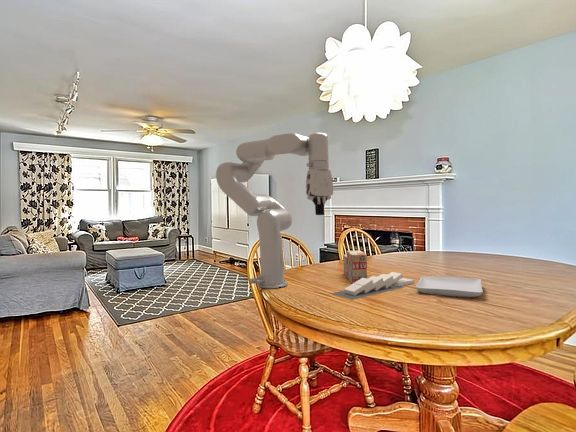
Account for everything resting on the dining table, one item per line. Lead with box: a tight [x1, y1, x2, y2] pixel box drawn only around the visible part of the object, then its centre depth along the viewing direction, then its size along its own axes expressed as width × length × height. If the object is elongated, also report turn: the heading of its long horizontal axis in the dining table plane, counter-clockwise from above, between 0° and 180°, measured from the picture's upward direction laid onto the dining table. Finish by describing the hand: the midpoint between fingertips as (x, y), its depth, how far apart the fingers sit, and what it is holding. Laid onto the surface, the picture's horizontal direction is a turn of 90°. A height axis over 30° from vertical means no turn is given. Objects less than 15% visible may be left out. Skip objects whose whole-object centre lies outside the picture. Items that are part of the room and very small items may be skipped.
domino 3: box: [372, 273, 393, 291], centre depth 133 cm, size 2×5×10 cm
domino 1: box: [343, 277, 373, 296], centre depth 127 cm, size 2×5×10 cm
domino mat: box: [330, 285, 405, 301], centre depth 130 cm, size 28×11×1 cm, turn 124°
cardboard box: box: [342, 249, 368, 284], centre depth 153 cm, size 21×6×12 cm, turn 0°
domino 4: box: [382, 271, 404, 289], centre depth 136 cm, size 2×5×10 cm
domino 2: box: [361, 275, 384, 293], centre depth 130 cm, size 2×5×10 cm
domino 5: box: [392, 277, 415, 287], centre depth 138 cm, size 2×5×10 cm
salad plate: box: [415, 275, 484, 298], centre depth 127 cm, size 21×21×3 cm
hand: (319, 214), depth 132 cm, fingers closed
